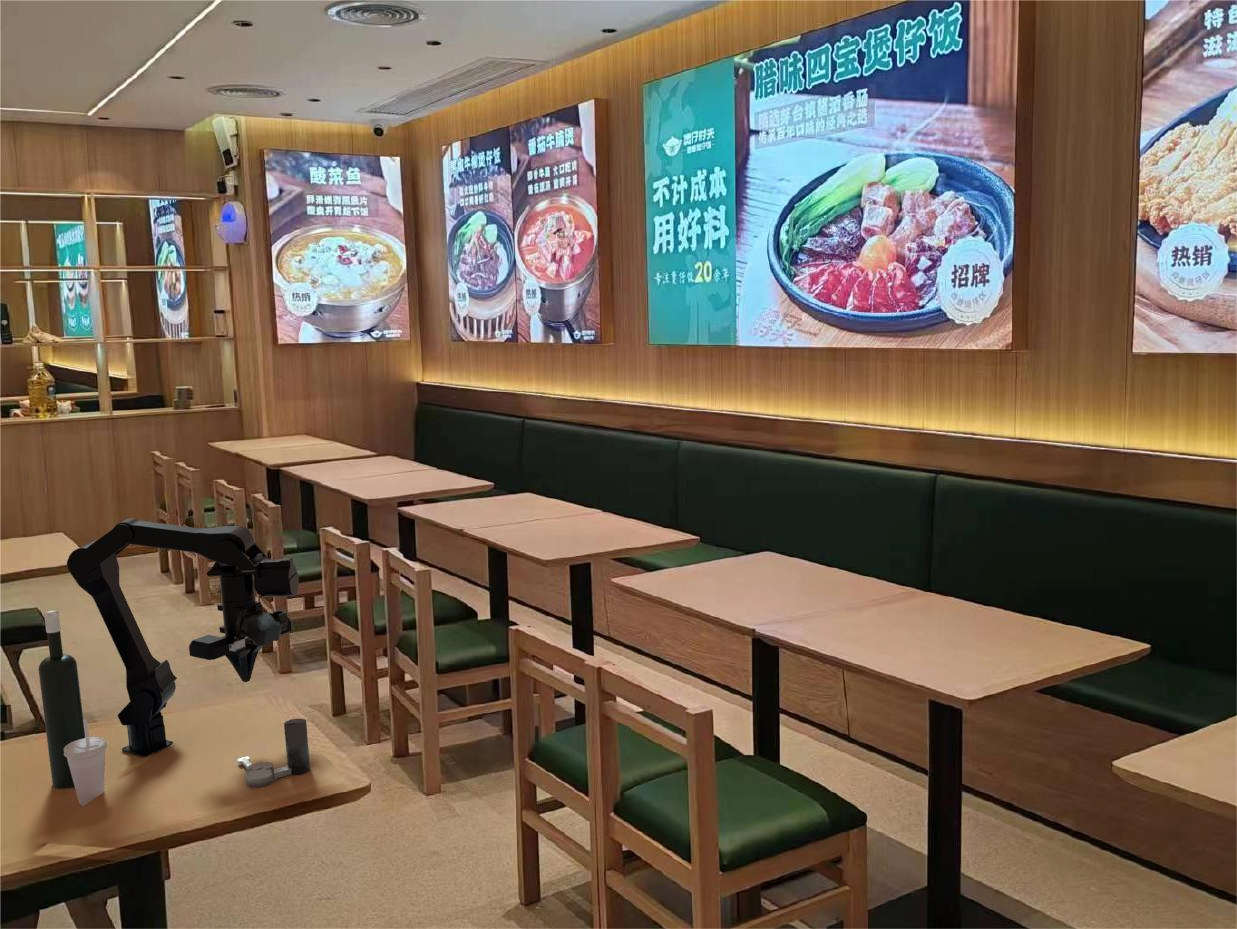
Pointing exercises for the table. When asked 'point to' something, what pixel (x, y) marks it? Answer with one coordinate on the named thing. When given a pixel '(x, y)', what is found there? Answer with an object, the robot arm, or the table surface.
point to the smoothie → (87, 765)
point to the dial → (296, 757)
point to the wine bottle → (60, 702)
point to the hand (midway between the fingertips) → (246, 681)
